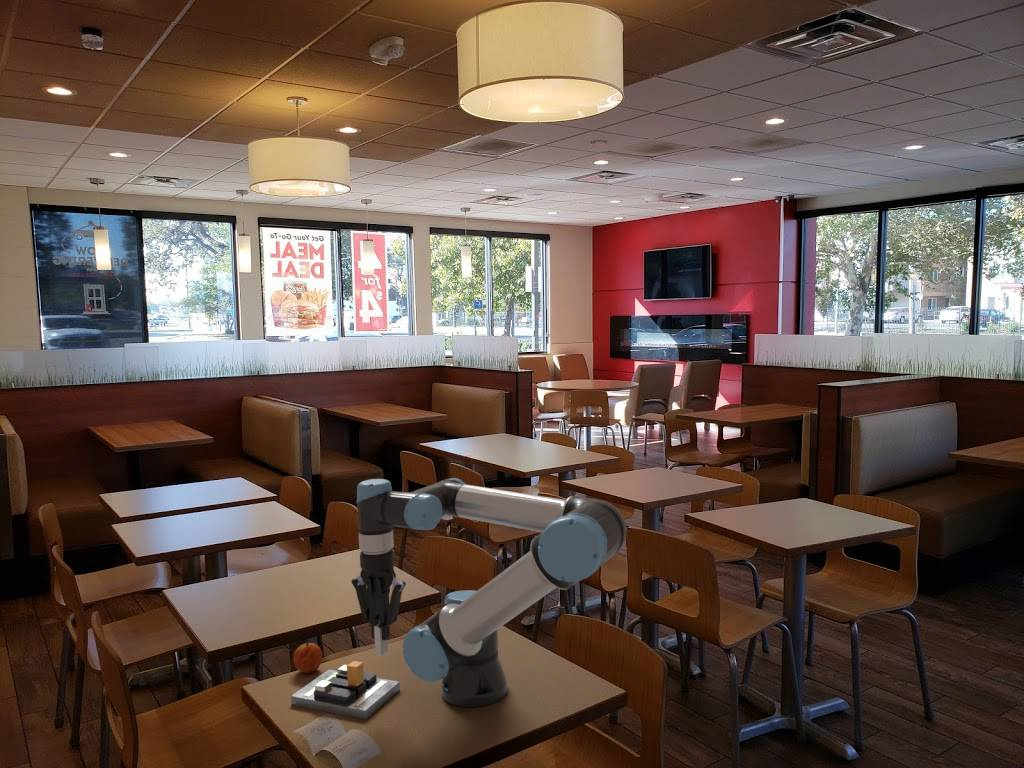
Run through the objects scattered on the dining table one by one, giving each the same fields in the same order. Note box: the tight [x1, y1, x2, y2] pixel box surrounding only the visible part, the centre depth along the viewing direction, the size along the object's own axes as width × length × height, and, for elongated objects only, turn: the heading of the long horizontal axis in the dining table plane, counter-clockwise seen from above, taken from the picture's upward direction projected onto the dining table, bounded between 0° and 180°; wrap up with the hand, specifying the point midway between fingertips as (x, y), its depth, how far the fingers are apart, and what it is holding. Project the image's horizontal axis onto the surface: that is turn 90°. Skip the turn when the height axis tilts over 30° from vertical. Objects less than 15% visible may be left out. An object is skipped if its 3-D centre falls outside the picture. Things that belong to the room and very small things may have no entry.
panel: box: [290, 664, 401, 720], centre depth 173 cm, size 20×14×5 cm
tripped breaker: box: [346, 660, 364, 686], centre depth 171 cm, size 3×3×4 cm
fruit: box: [293, 640, 323, 674], centre depth 187 cm, size 7×7×8 cm
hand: (381, 652), depth 168 cm, fingers closed
